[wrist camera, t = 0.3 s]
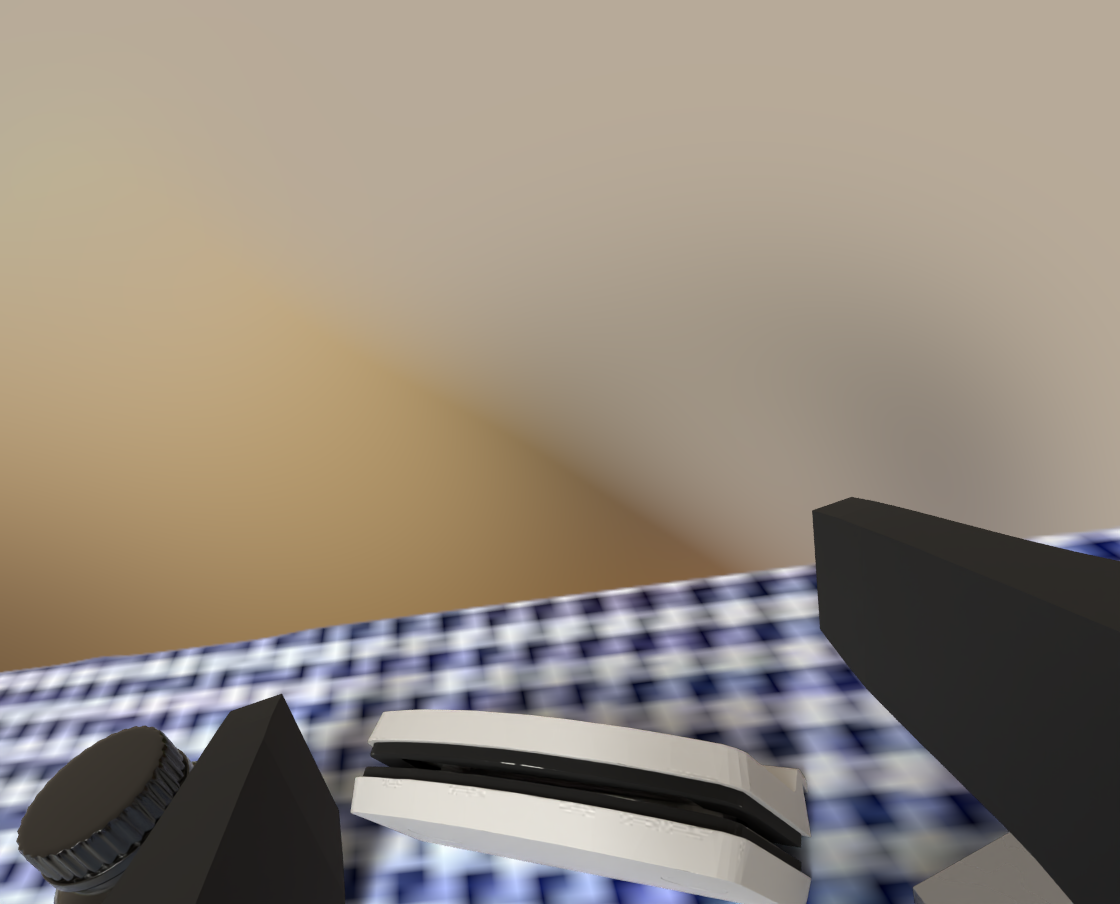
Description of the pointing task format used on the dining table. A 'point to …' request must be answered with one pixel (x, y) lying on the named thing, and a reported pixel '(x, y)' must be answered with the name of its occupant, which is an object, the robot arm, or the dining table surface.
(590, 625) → the dining table surface
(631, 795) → the white angular device
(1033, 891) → the grey slotted plate
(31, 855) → the supplement bottle
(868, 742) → the dining table surface
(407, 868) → the dining table surface
